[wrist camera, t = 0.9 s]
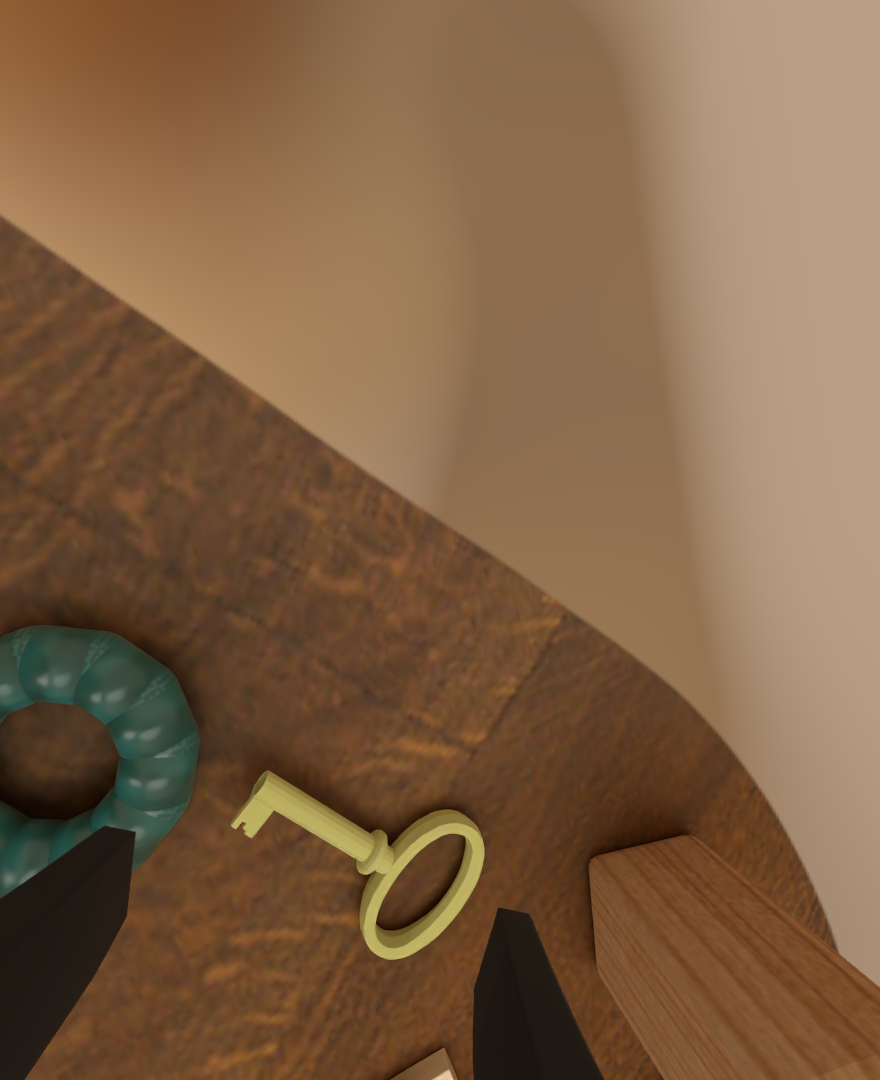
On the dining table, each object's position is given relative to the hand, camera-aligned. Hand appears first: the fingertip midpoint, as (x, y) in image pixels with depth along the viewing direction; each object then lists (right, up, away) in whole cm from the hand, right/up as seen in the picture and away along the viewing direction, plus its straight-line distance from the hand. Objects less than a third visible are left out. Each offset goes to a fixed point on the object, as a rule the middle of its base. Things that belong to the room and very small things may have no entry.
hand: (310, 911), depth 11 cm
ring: (-13, -2, +12) cm, 18 cm away
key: (-1, -7, +16) cm, 18 cm away
